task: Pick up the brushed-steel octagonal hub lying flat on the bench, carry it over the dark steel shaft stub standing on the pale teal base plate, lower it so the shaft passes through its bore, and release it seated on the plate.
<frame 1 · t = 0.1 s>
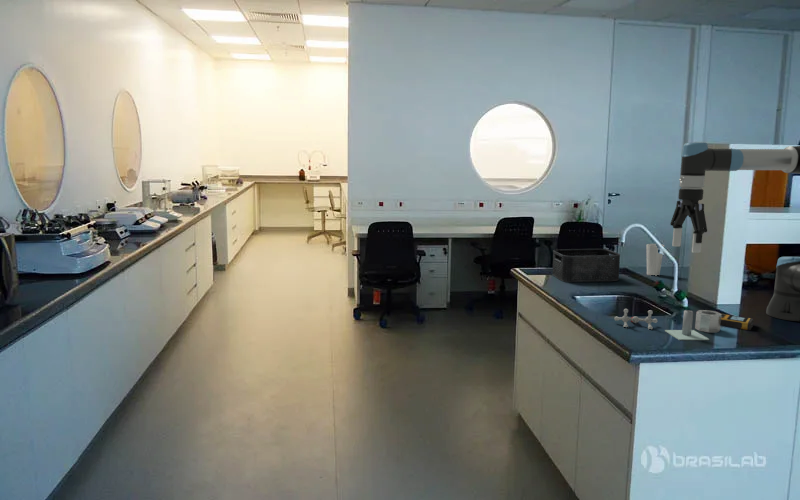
hand: (685, 249, 203), 28 cm above the counter, fingers open, 13 cm apart
storage bin: (584, 278, 290), on the counter
hub: (707, 329, 204), on the counter
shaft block: (686, 335, 197), on the counter
molecular model: (636, 326, 208), on the counter
cup: (653, 275, 298), on the counter
electronic device: (726, 325, 211), on the counter
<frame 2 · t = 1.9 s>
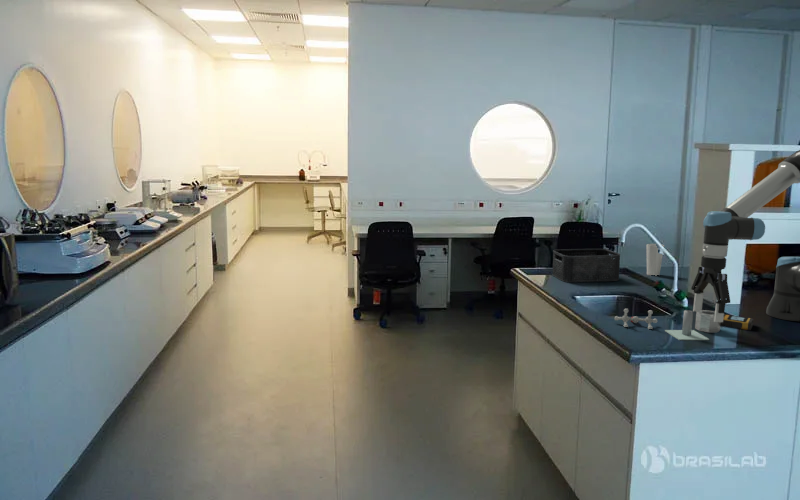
hand: (707, 316, 203), 5 cm above the counter, fingers open, 13 cm apart
nothing on the counter moved.
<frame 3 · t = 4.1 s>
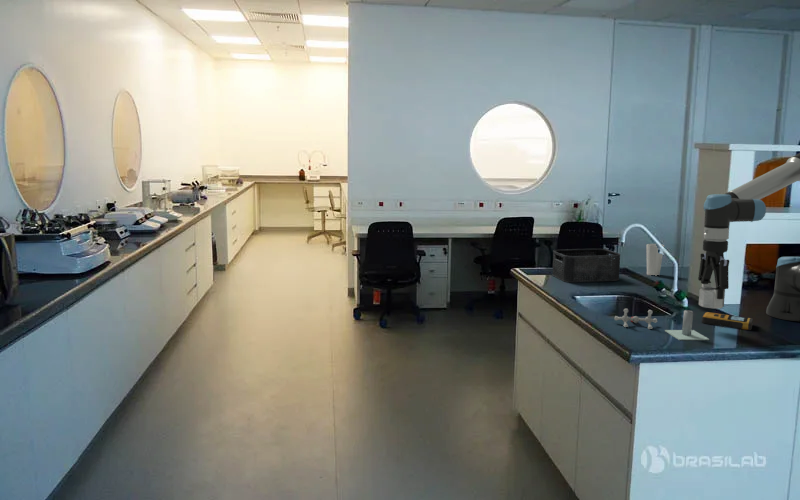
hand: (711, 304, 203), 9 cm above the counter, fingers closed on hub, 7 cm apart
hub: (711, 305, 203), point 9 cm above the counter, touching gripper
everything else where it was.
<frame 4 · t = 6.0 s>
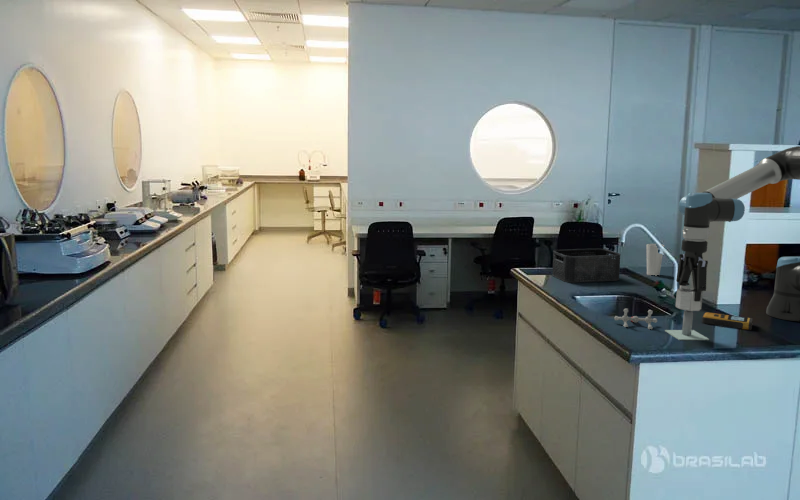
hand: (688, 307, 195), 10 cm above the counter, fingers closed on hub, 7 cm apart
hub: (688, 307, 195), point 10 cm above the counter, touching gripper
everything else where it was.
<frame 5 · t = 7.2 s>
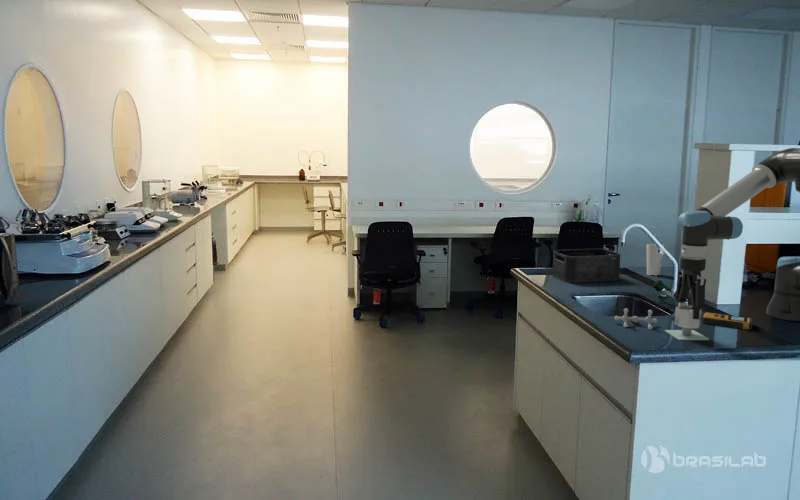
hand: (687, 324, 196), 4 cm above the counter, fingers closed on hub, 7 cm apart
hub: (686, 325, 196), point 4 cm above the counter, touching gripper
everything else where it was.
when the fingers open (2 cm above the counter, at t = 8.0 s): hub drops 1 cm, resting on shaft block.
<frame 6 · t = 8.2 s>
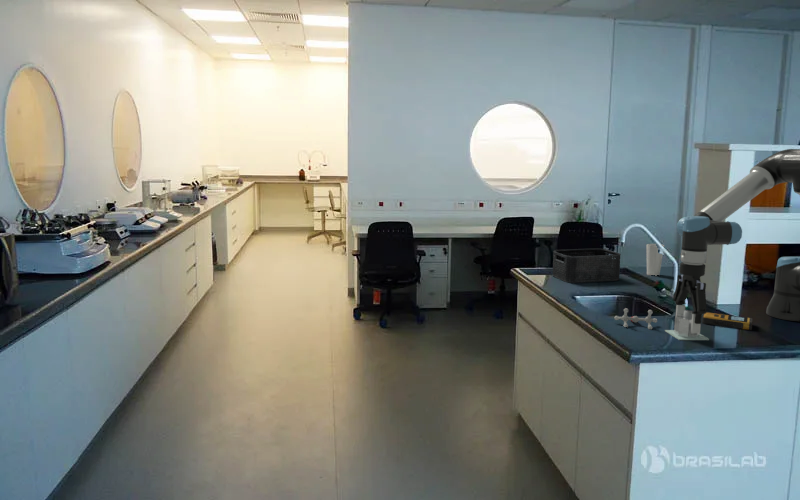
hand: (687, 327, 196), 3 cm above the counter, fingers open, 10 cm apart
hub: (686, 334, 197), resting on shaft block
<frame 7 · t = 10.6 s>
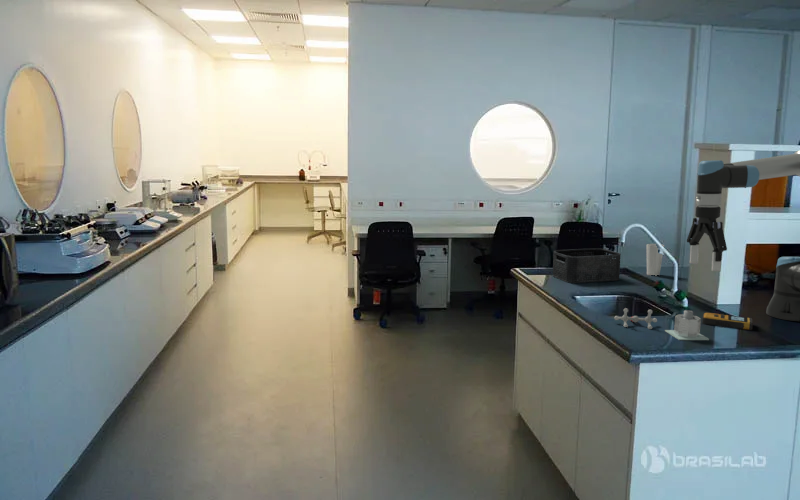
hand: (704, 266, 203), 22 cm above the counter, fingers open, 13 cm apart
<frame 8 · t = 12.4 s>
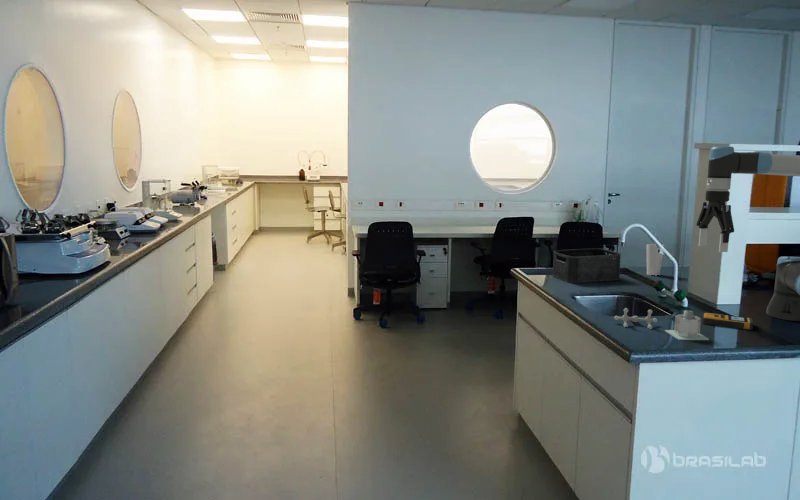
hand: (712, 248, 212), 27 cm above the counter, fingers open, 13 cm apart
at the end: hub 0.0 cm off-centre on the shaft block, point 0.4 cm above the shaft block's base; the gripper is holding nothing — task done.
